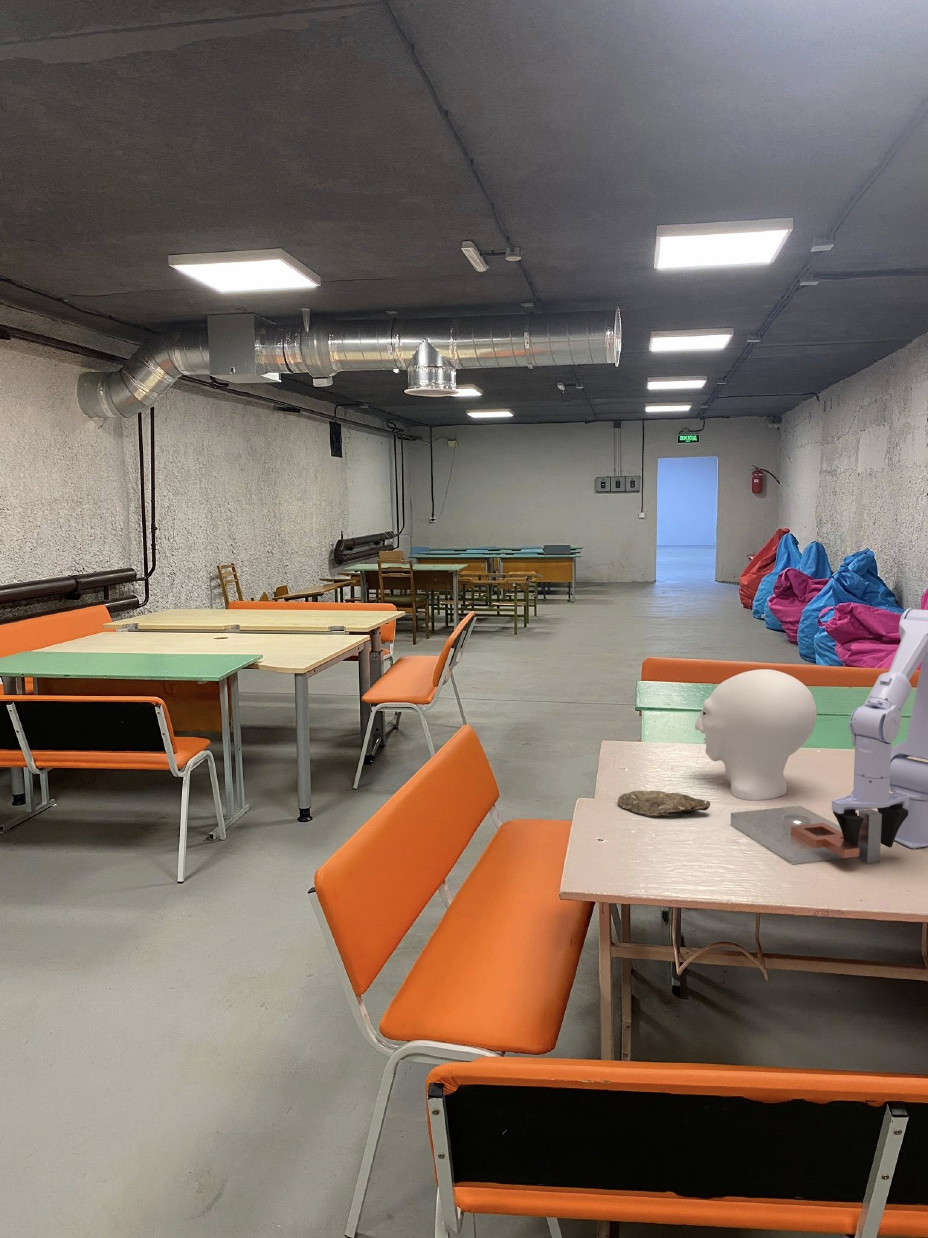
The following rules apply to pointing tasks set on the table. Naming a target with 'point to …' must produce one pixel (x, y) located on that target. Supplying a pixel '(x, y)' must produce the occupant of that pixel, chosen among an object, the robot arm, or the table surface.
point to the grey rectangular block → (870, 836)
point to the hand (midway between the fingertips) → (868, 847)
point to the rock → (661, 803)
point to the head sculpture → (757, 729)
